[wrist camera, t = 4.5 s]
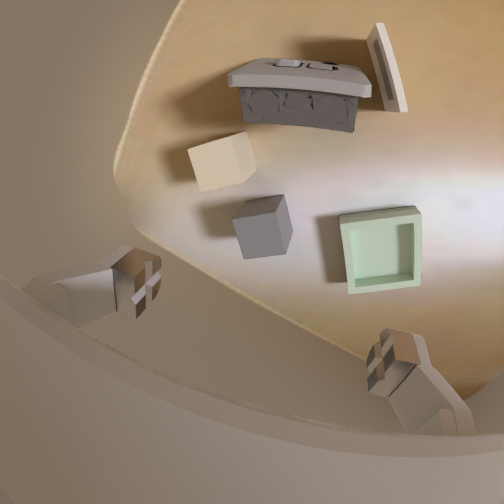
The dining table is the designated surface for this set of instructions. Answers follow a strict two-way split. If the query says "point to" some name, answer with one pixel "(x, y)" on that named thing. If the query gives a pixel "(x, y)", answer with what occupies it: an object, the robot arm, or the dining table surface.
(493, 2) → the dining table surface
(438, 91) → the dining table surface
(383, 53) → the label plate
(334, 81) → the electrical switch
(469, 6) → the dining table surface
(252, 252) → the grey part
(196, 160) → the beige part
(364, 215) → the tray
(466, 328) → the dining table surface
